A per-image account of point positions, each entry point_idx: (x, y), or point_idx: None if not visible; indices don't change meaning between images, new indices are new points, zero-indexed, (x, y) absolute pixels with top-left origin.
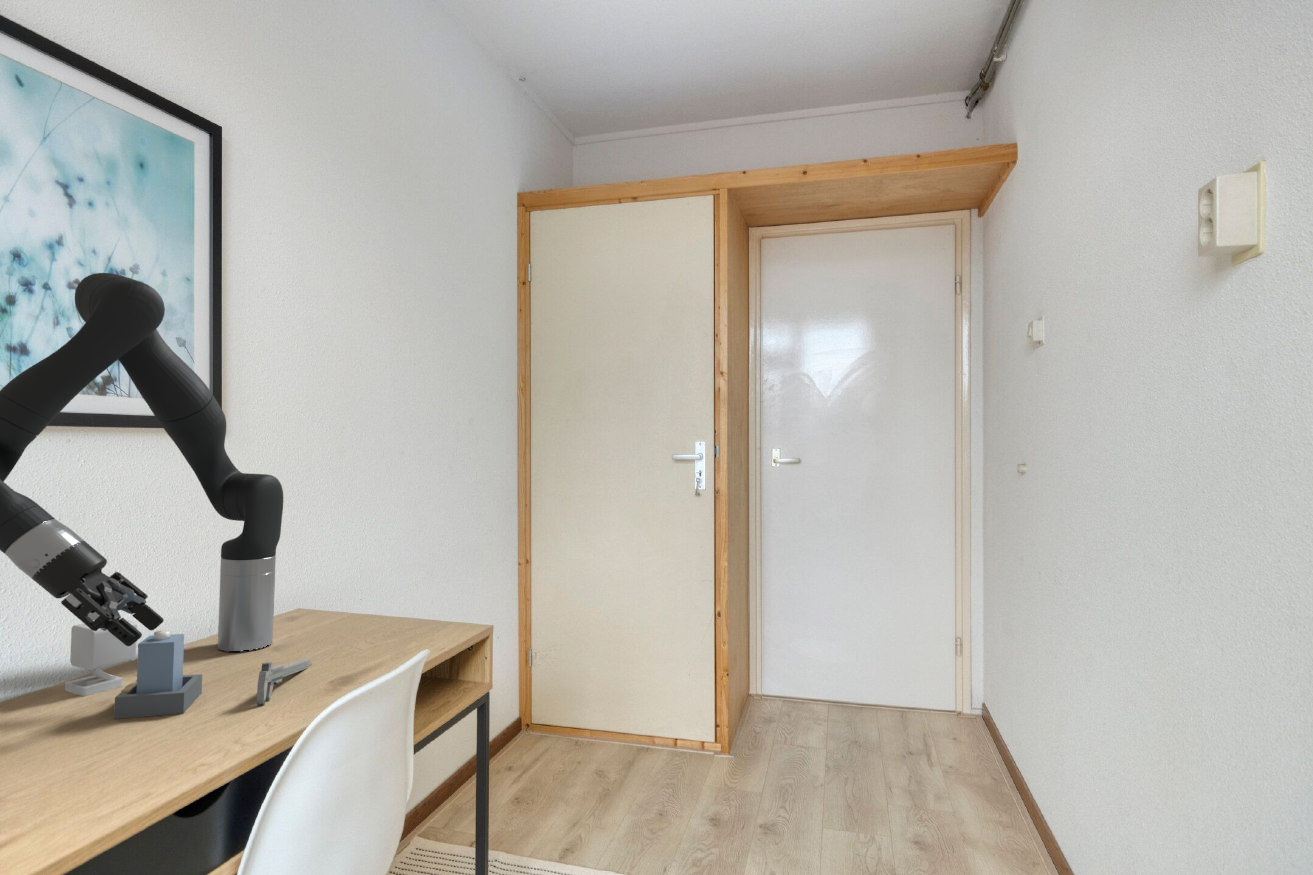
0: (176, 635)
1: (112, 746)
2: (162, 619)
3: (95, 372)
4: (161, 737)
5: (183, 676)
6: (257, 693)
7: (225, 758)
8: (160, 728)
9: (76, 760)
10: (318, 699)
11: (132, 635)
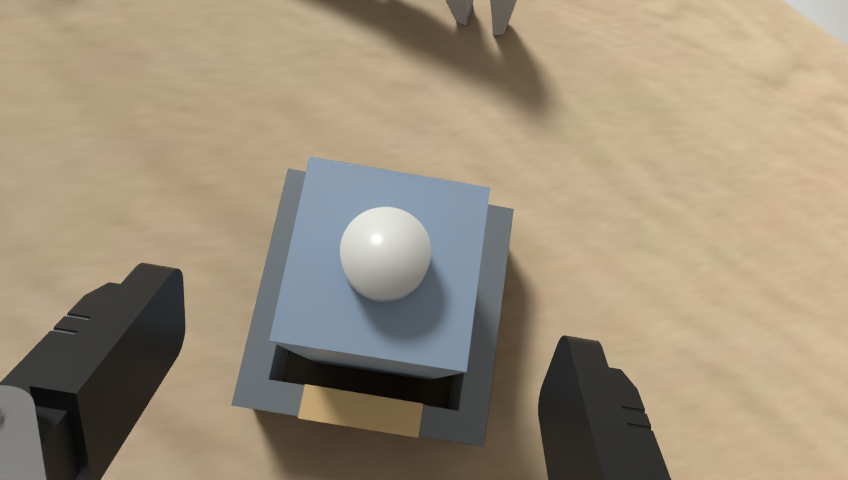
0: (333, 192)
1: (726, 389)
2: (159, 266)
3: None
4: (691, 266)
5: (291, 232)
6: (511, 12)
7: None
8: (614, 279)
9: (810, 466)
10: None
11: (627, 381)
